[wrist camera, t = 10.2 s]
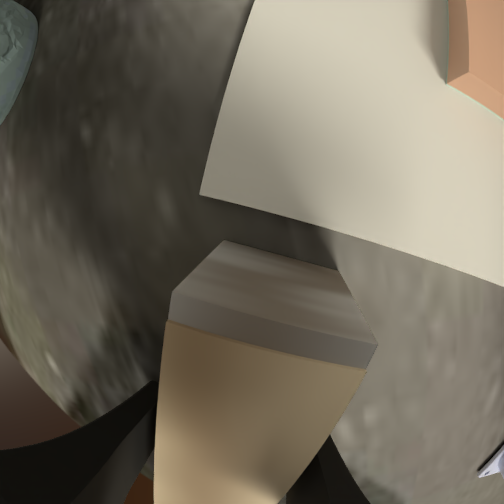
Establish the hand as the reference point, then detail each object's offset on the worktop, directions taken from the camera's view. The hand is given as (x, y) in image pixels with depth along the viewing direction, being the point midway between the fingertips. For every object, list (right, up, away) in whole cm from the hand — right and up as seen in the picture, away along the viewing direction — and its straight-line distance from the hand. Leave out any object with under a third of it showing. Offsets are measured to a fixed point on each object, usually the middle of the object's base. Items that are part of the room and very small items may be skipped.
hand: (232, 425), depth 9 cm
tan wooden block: (0, +1, +2) cm, 3 cm away
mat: (+12, +13, -2) cm, 17 cm away
